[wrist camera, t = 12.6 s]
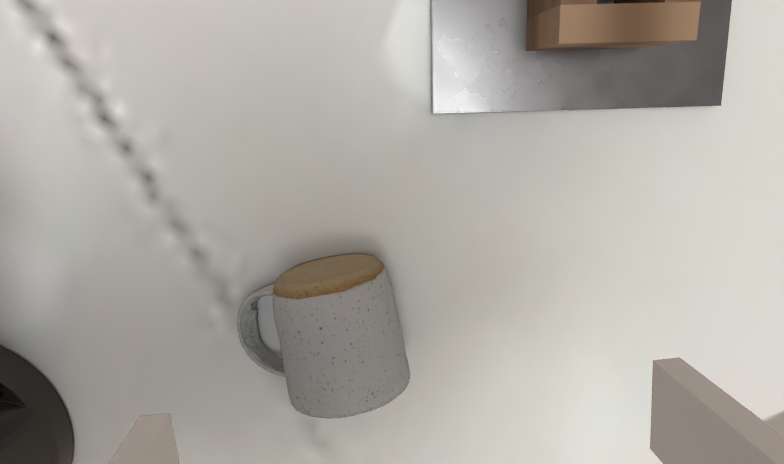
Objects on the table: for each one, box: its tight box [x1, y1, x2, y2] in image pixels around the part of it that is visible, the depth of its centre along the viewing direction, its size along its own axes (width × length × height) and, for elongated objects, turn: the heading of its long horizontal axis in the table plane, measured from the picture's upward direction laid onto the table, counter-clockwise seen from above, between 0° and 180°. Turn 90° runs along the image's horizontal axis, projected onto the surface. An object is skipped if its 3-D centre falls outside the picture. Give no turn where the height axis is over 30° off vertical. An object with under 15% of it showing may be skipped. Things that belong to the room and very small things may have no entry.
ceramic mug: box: [237, 254, 410, 418], centre depth 34 cm, size 11×8×8 cm
